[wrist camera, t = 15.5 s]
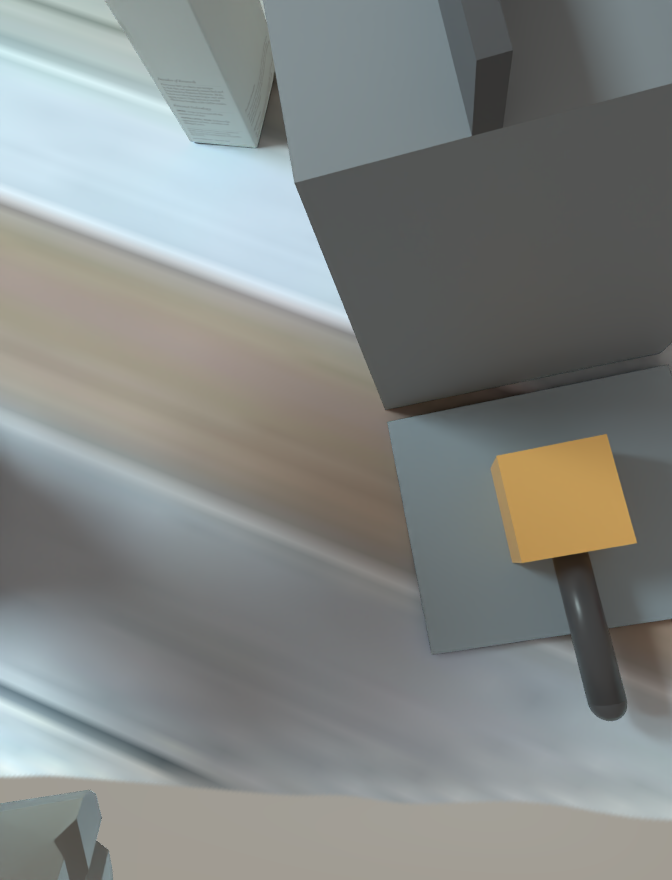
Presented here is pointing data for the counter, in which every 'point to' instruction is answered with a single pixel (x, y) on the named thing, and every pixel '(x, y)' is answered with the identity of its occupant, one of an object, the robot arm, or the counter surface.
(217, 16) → the skincare box
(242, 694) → the counter surface
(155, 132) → the counter surface
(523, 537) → the tan handled block
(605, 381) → the mat
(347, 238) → the stand
